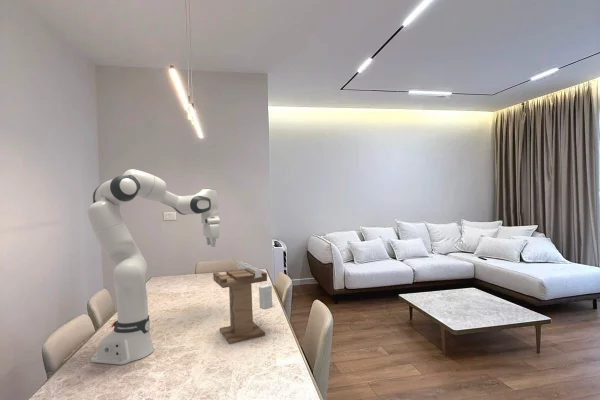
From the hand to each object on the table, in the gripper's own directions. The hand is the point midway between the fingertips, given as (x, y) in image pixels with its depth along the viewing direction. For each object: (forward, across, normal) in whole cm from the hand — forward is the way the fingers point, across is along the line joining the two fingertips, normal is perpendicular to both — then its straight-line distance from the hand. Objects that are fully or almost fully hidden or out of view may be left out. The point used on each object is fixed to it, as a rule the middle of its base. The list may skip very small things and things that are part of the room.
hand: (211, 245), depth 177 cm
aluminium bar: (+11, +26, +11) cm, 30 cm away
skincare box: (+37, +3, +29) cm, 47 cm away
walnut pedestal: (+37, +31, +5) cm, 49 cm away
